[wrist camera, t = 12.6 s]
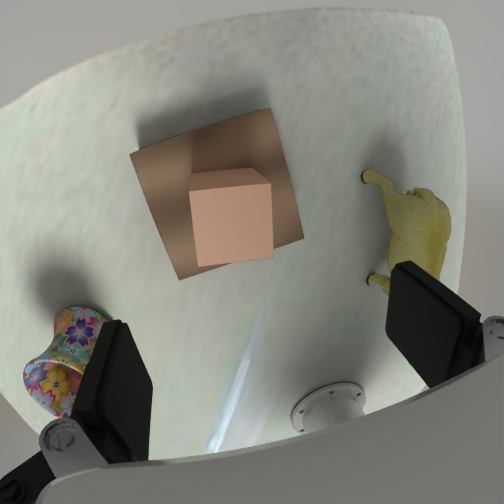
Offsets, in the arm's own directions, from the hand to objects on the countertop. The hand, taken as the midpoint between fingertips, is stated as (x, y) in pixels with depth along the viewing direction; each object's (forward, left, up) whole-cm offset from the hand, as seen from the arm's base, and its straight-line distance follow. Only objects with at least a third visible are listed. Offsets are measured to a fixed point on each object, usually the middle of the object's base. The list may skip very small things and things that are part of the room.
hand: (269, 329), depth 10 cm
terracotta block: (0, 0, -18) cm, 18 cm away
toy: (-8, -18, -23) cm, 30 cm away
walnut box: (+1, 0, -23) cm, 23 cm away
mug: (-15, +19, -23) cm, 33 cm away
